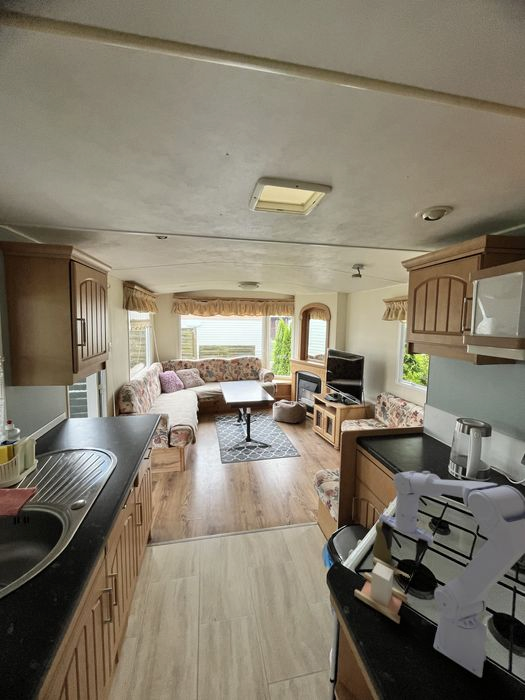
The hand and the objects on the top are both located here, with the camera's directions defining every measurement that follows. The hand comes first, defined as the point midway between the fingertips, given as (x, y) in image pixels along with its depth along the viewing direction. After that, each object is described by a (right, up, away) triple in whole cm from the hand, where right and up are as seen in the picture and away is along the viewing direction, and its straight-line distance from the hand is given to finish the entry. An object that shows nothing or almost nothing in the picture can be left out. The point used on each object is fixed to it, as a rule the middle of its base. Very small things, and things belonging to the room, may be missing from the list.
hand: (402, 554), depth 88 cm
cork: (-1, -9, +12) cm, 15 cm away
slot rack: (-6, -9, -1) cm, 11 cm away
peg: (-8, -9, -4) cm, 13 cm away
